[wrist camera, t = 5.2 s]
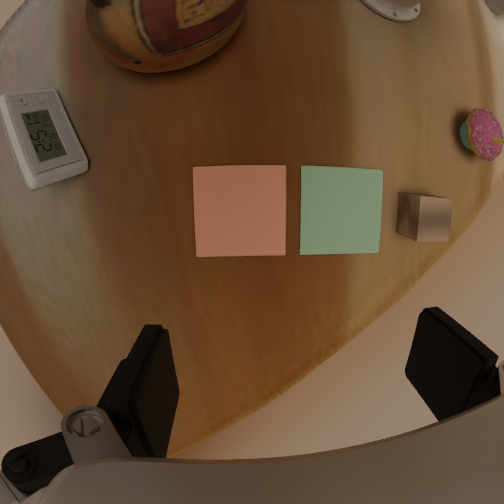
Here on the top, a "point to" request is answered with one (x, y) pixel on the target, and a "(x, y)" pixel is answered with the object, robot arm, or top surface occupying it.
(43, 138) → the digital clock
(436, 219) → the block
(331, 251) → the mat
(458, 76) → the top surface
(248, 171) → the mat
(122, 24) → the ceramic pitcher
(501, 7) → the house plant
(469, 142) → the cupcake
